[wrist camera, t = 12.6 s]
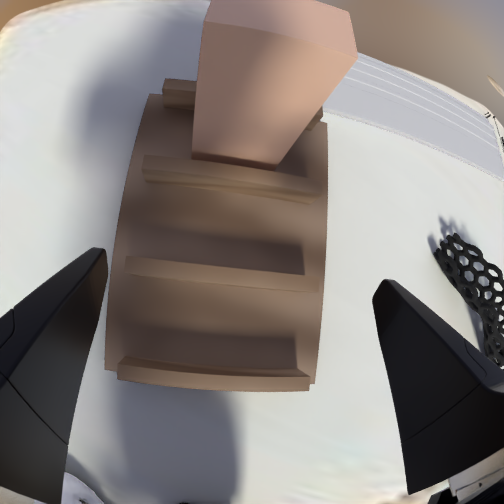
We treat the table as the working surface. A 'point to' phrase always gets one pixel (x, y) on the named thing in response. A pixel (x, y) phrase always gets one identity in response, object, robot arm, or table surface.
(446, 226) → the table surface
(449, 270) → the decorative element
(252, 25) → the pinkish tan block
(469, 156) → the baseboard molding
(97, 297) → the robot arm
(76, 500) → the baby figurine
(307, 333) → the drying rack
